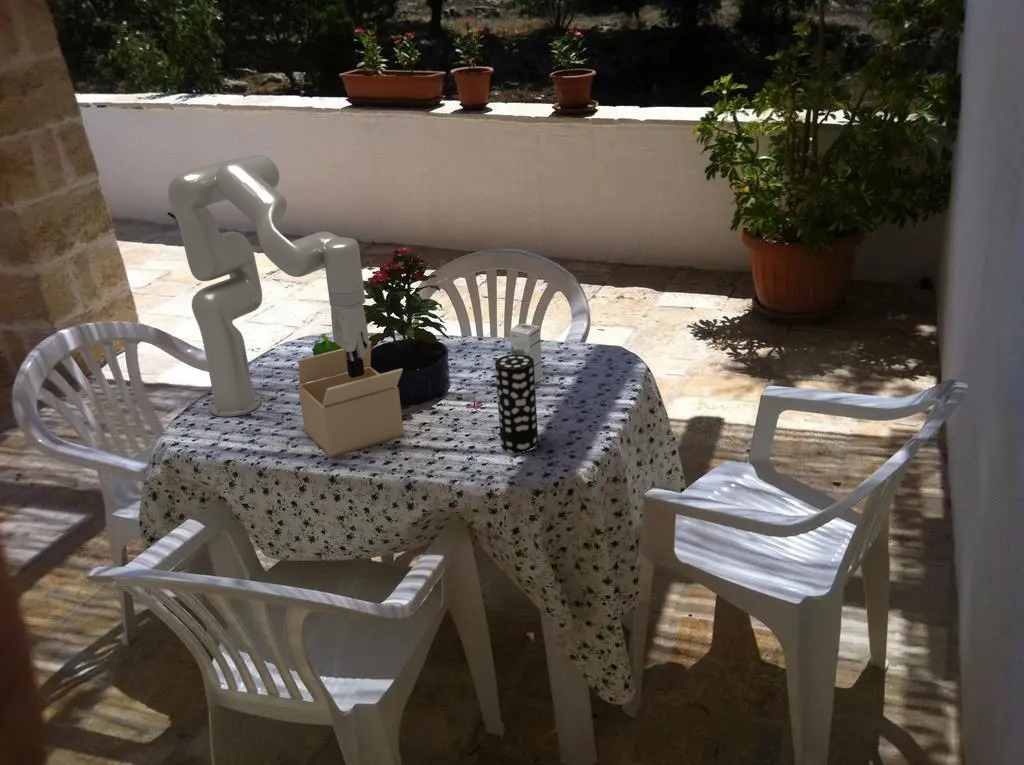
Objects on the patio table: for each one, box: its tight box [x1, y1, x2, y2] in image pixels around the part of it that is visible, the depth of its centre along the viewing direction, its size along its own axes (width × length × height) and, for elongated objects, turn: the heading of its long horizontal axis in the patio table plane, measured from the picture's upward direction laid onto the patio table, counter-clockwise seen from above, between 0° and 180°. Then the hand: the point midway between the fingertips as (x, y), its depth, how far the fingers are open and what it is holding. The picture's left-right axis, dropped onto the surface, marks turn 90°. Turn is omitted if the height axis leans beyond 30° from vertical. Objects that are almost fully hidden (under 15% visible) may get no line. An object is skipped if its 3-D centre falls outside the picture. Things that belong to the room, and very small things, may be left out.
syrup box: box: [509, 322, 544, 382], centre depth 262 cm, size 6×6×14 cm
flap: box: [297, 341, 372, 385], centre depth 241 cm, size 7×18×1 cm
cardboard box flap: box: [322, 367, 404, 406], centre depth 229 cm, size 7×18×1 cm
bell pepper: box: [312, 333, 343, 356], centre depth 276 cm, size 8×8×10 cm
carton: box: [297, 366, 405, 459], centre depth 240 cm, size 16×18×12 cm
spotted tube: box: [494, 354, 539, 454], centre depth 229 cm, size 8×8×20 cm
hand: (356, 375), depth 230 cm, fingers closed
